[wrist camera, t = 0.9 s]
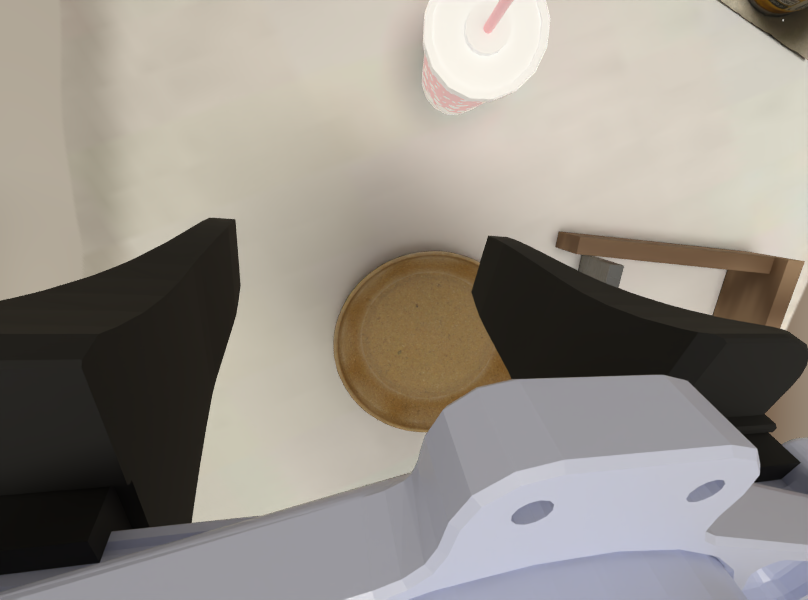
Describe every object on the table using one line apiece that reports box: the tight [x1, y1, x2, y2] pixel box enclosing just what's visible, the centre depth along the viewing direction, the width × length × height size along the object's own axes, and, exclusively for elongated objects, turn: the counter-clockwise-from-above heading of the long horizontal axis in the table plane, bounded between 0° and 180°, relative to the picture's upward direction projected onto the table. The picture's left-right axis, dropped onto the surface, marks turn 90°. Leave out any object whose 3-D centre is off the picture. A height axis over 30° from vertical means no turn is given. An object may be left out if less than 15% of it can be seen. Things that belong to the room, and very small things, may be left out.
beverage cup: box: [422, 0, 550, 115], centre depth 21 cm, size 6×6×14 cm
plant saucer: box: [334, 251, 512, 432], centre depth 32 cm, size 15×15×3 cm
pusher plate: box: [579, 255, 624, 288], centre depth 32 cm, size 16×1×4 cm, turn 174°
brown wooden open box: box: [556, 232, 805, 329], centre depth 32 cm, size 19×16×4 cm
